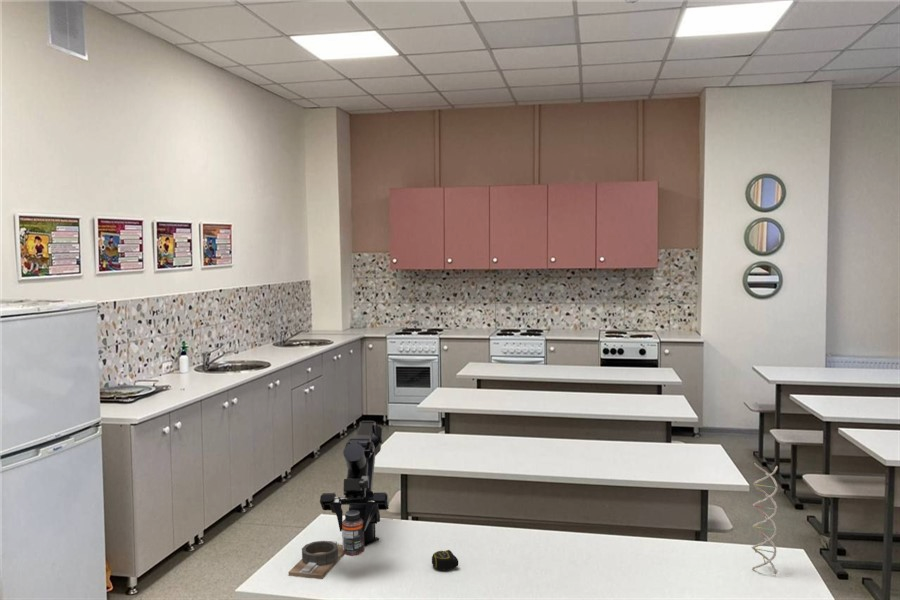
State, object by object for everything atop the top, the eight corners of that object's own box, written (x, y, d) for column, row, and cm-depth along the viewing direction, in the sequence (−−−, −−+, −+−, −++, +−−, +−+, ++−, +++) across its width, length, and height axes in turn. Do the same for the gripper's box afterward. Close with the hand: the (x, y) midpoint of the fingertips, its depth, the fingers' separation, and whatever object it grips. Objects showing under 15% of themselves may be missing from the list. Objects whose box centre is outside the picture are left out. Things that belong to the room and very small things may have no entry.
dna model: (777, 569, 194) (779, 462, 192) (776, 578, 189) (778, 469, 187) (751, 564, 198) (753, 459, 196) (749, 573, 192) (750, 465, 190)
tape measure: (459, 570, 197) (459, 557, 196) (435, 574, 195) (435, 561, 194) (451, 560, 203) (451, 547, 203) (429, 564, 201) (428, 551, 201)
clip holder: (318, 545, 214) (318, 533, 214) (349, 548, 212) (349, 535, 211) (288, 575, 195) (288, 561, 194) (322, 578, 192) (321, 564, 192)
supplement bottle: (353, 545, 198) (352, 506, 197) (369, 551, 195) (368, 511, 194) (338, 553, 194) (337, 513, 193) (354, 558, 190) (353, 518, 189)
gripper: (320, 465, 196) (313, 519, 186) (387, 464, 196) (383, 518, 186) (326, 483, 205) (319, 535, 195) (390, 482, 205) (387, 535, 195)
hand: (352, 530), depth 192 cm, fingers closed on supplement bottle, 6 cm apart
